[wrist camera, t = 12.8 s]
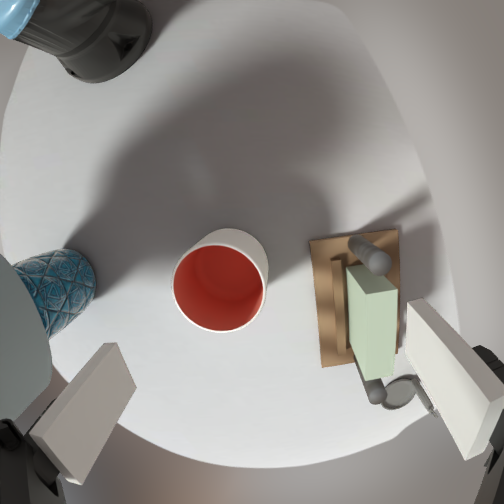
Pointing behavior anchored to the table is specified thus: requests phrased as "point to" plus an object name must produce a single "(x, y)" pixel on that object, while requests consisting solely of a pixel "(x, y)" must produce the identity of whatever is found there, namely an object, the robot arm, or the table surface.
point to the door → (372, 321)
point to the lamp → (37, 320)
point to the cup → (221, 281)
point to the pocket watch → (406, 395)
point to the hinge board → (335, 292)
